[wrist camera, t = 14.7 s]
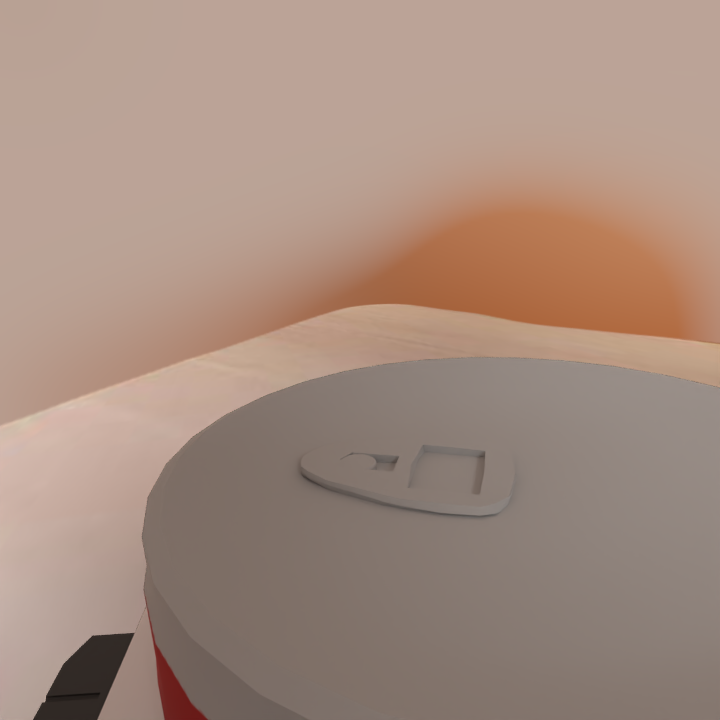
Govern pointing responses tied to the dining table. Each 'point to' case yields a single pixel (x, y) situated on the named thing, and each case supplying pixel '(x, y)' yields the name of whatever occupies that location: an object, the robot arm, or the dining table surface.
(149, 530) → the canned food
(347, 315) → the dining table surface
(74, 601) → the dining table surface
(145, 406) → the dining table surface
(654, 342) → the dining table surface
